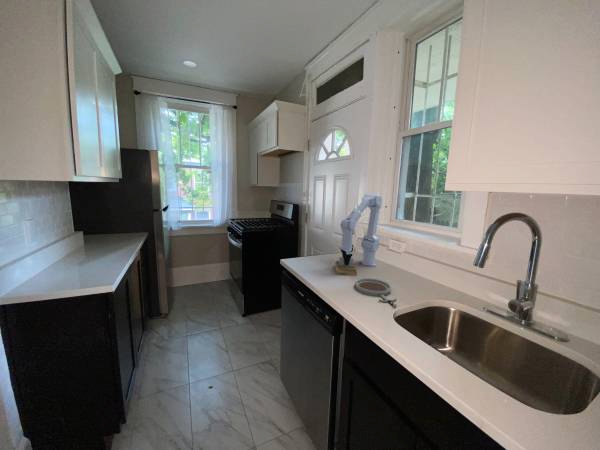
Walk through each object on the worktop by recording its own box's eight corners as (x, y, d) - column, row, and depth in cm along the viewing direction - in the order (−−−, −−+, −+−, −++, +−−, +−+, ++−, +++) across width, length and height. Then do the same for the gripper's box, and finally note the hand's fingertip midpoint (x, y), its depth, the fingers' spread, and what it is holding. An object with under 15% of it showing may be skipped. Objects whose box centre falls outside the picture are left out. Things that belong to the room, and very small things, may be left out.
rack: (334, 266, 153) (335, 260, 153) (353, 267, 153) (353, 261, 152) (336, 274, 140) (337, 268, 139) (356, 275, 139) (357, 268, 139)
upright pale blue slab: (338, 268, 147) (339, 257, 146) (352, 269, 147) (352, 257, 146) (338, 269, 145) (339, 258, 144) (352, 270, 145) (353, 258, 144)
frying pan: (376, 304, 100) (349, 278, 127) (376, 311, 101) (349, 283, 128) (414, 302, 104) (380, 276, 131) (413, 308, 104) (379, 281, 131)
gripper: (338, 237, 151) (337, 259, 153) (341, 242, 137) (340, 266, 139) (350, 237, 150) (349, 259, 153) (354, 243, 136) (352, 267, 138)
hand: (345, 263), depth 146 cm, fingers open, 6 cm apart
